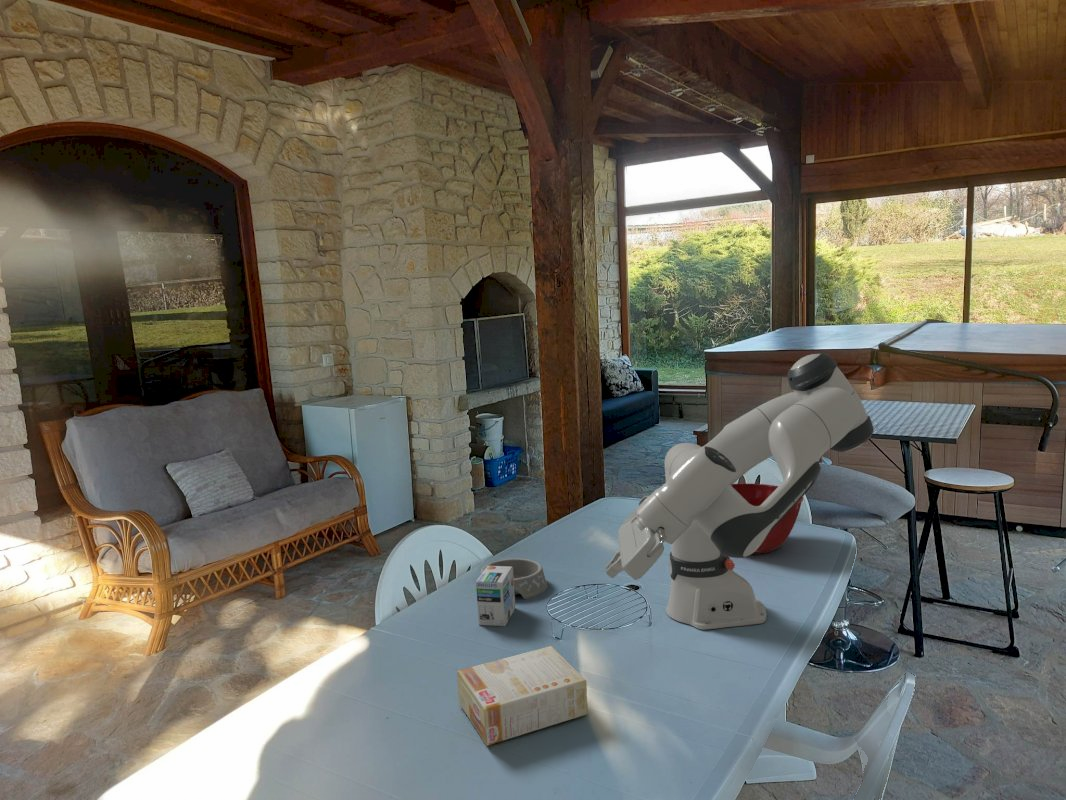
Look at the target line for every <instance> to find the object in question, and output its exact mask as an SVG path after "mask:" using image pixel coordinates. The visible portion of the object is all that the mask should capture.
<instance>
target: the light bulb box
mask: <svg viewBox="0 0 1066 800" xmlns="http://www.w3.org/2000/svg"><path fill="white" fill-rule="evenodd" d="M475 587H476V589H475V590H476V600H477V601H476V602H477V603H476V605H477V614H478V615H477V617H478V618H477V619H478V626H494V627H495V626H496V627H497V626H498V627H506V626H507V624H508V622H509V620H510V619H511V617H512V615H513V613H514V612H515V609H516V600H515V599H516V596H515V595H516V594H515V595H514V577H513V567H509V566H487V567H486V568H485V570H484V571H483V573H482V574H481V575H480V574H479V576H478V578H477V579H476V581H475Z"/></svg>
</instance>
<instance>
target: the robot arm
mask: <svg viewBox="0 0 1066 800" xmlns="http://www.w3.org/2000/svg"><path fill="white" fill-rule="evenodd" d="M786 377H787V382H788V385H789V387H790V389H791V390H793V391H792V392H788V393H785V394H781V395H780V396H777V397H775V398H772V399H770V400H768V401H766V402H764V403H762V404H760V405H759V406H756V407H754V408H752V410H749V411H748V412H746V413H744V414H743V415H741V416H740V417H737V418H736V419H734V420H732V421H730V422H729V423H727V424H726V425H724V426H723V429H721V431H720V432H719V433H717V435H716V436H714V437H713V438H712V439H711V440H710V441H709V442H707V443H706V444H704V445H703V446H701V445H699V444H696V443H692V442H680V443H677V444H675V445H673V446H672V447H671V448H669V450H668V451H667V452H666V454H665V457H664V462H663V464H664V473H665V474H664V477H665V483H663V485H661V486H659V487H658V488H656V489H655V490H654V491H652V493H651V494H650V495H644V496H643V497H641V499H640V500H639V501H638V506H637V507H636V508H635V509H634V510H633V512H632V513H630V515H629V516H628V517H627V518H626V520H624V522H623V523H622V524H621V526H620V528H619V529H618V531H617V539H618V544H619V545H618V547H619V548H618V549H617V550H616V552H615V554H614V555H613V556H612V558H611V560H610V561H609V562H608V563H607V564H606V565H605V572H606V573H605V574H606V575H607V576H608V577H610V579H614V578H616V576H617V575H618V574H619V573H621V572H623V571H624V572H625V573H626V574H627V575H628V576H629V577H630V578H632V579H633V580H634V581H638V580H640V579H641V578H643V577H644V576H645V574H647V572H648V571H649V570H650V569H651V568H652V567H653V566H654V565H655V563H656V562H657V561H658V560H659V559H660V558H661V556H662V555H663V553H664V550H665V546H664V543H667V544H669V545H670V546H671V547H670V549H671V551H670V552H669V558H668V559H669V561H668V562H669V563H668V564H669V565H668V566H669V575H670V576H669V577H670V578H671V579H670V580H671V581H670V588H669V589H670V590H669V596H668V601H667V605H666V608H665V612H666V614H667V615H668V616H669V617H670V618H671V619H672V620H675V621H677V622H680V623H683V624H687V625H690V626H693V627H694V628H696V629H698V630H703V631H704V630H712V629H724V628H732V627H741V626H751V625H758V624H759V625H761V624H764V623H765V622H766V620H767V618H768V617H767V611H766V610H767V609H766V608H765V606H764V604H763V603H762V601H760V600H759V599H758V598H757V597H756V595H755V592H754V589H753V586H751V583H750V582H748V581H747V579H745V578H744V577H742V576H741V575H740V574H738V573H737V572H736V571H734V569H735V567H736V566H735V563H734V561H733V560H732V559H730V558H736V559H746V558H747V557H749V556H750V555H752V553H753V552H755V551H756V550H757V549H758V548H759V546H760V545H761V544H762V542H763V541H764V539H765V538H766V537H767V536H768V534H769V533H770V532H771V531H772V529H773V528H774V527H775V526H776V525H777V524H778V523H779V522H780V521H781V520H782V519H783V518H784V516H785V515H786V514H787V513H788V512H789V511H790V510H791V509H792V508H793V507H794V506H795V505H796V504H797V503H798V501H799V500H800V499H801V498H802V497H803V498H804V496H805V495H806V494H807V492H808V491H809V490H810V489H811V488H812V486H813V485H814V484H815V482H817V479H818V477H819V475H820V473H821V470H822V469H821V468H822V467H821V464H820V462H819V461H820V458H821V457H822V456H823V455H824V454H825V453H826V452H827V451H829V450H832V451H835V452H840V453H841V452H846V451H848V452H849V451H853V450H855V449H858V448H859V447H861V446H862V445H864V444H865V443H866V442H867V441H868V440H870V439H871V437H872V435H873V433H874V431H875V429H874V425H873V422H872V419H871V416H870V415H868V413H867V411H866V409H865V407H864V405H863V402H862V400H861V398H860V396H859V394H858V392H857V391H856V389H855V388H853V386H852V384H851V383H850V382H849V380H848V379H847V378H846V376H845V375H844V373H843V372H842V371H841V369H840V368H839V367H838V363H837V362H836V361H835V359H833V357H832V356H830V355H829V354H828V353H824V352H819V353H811V354H808V355H805V356H803V357H801V358H800V359H798V360H797V361H796V362H795V363H793V365H792V366H791V367H790V368H789V369H788V372H787V376H786ZM771 457H773V459H774V460H775V463H776V464H777V466H778V469H779V470H780V473H781V476H782V480H783V481H782V482H781V483H780V484H779V485H777V486H778V487H777V489H776V490H775V491H774V492H773V493H772V494H771V495H770V496H769V497H768V498H767V499H766V500H765V501H764V502H763V503H762V504H761V505H760V506H753V505H751V504H749V503H748V502H747V501H746V500H745V499H744V498H743V497H742V496H741V495H740V494H739V493H738V492H737V491H736V490H735V489H734V488H733V487H732V486H731V485H732V484H736V482H737V481H739V479H741V478H742V477H743V476H744V475H745V474H746V473H747V472H749V471H750V470H752V469H753V468H754V467H756V466H757V465H759V464H761V463H762V462H764V461H765V460H768V459H769V458H771Z"/></svg>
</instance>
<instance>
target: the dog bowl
mask: <svg viewBox="0 0 1066 800" xmlns="http://www.w3.org/2000/svg"><path fill="white" fill-rule="evenodd" d="M487 566H509V567H513V577H514V595H520V596H521V597H522V599H524V600H528V599H531V598H534V597H536V596H538V595H540V594H542V593H544V592H545V591H546V590H547V588H548V582H547V580H546V575H545V573H544V570H543V569H544V568H543V567H542V565H541V564H540V563H539V562H537V561H535V560H532V559H528V558H517V557H516V558H504V559H499V560H495V561H492V562H489V563H488V564H485V565H484V566H483V567H481V569H480V573H479V576H480V575H481V574H482V573H483V571H484V570H485V568H486V567H487Z"/></svg>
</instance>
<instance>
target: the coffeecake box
mask: <svg viewBox="0 0 1066 800" xmlns="http://www.w3.org/2000/svg"><path fill="white" fill-rule="evenodd" d="M456 675H457V685H458V686H457V695H458V703H459V705H460V707H461V708H462V710H463V712H464V713H465V714H466V715H467V718H468V719H469V721H470V722H471V724H472V725H473V727H474V728H475V730H476V731H477V733H478V734H479V736H480V738H481V740H482V741H483V742H484V744H485V745H486V747H488V746H491V745H495V744H497V743H500V742H503V741H507V740H509V739H512V738H516V737H519V736H522V735H526V734H528V733H531V732H535V731H538V730H542V729H545V728H547V727H551V726H553V725H558V724H561V723H563V722H567V721H570V720H573V719H576V718H580V717H583V716H586V715H588V714H589V712H588V709H589V708H588V692H587V689H588V688H587V685H588V684H587V679H586V678H585V677H584V676H582V675H581V674H580V673H579V672H578V671H577V670H576V669H575V668H574V667H573V666H572V665H571V664H570V663H569V662H568V661H567V660H566V659H565V658H564V657H563V656H562V655H561V654H560V653H559V652H558V650H556V649H555V648H554V647H553V645H549V646H545V647H542V648H539V649H534V650H530V651H527V652H523V653H519V654H516V655H512V656H508V657H504V658H500V659H497V660H493V661H489V662H485V663H481V664H478V665H475V666H474V665H473V666H470V667H466V668H463V669H458V670H457V673H456Z"/></svg>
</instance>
